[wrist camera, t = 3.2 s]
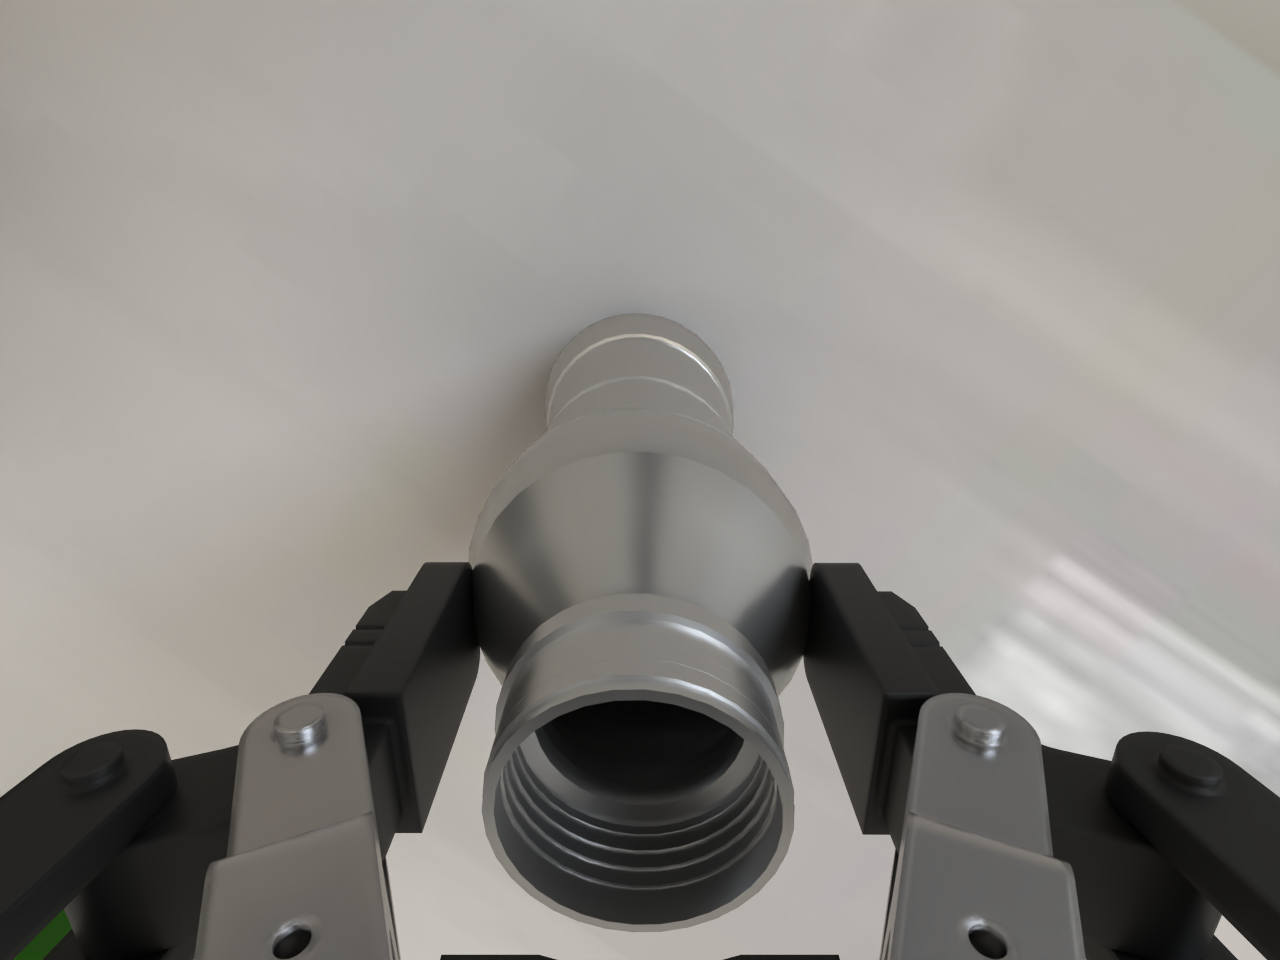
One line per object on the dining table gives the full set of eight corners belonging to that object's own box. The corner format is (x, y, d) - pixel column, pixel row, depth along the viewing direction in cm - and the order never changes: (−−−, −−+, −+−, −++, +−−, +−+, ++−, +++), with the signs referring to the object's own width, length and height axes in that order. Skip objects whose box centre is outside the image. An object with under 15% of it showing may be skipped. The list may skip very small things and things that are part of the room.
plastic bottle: (669, 269, 25) (754, 434, 6) (755, 425, 27) (1013, 901, 8) (519, 360, 26) (216, 727, 7) (613, 503, 28) (559, 1072, 10)
